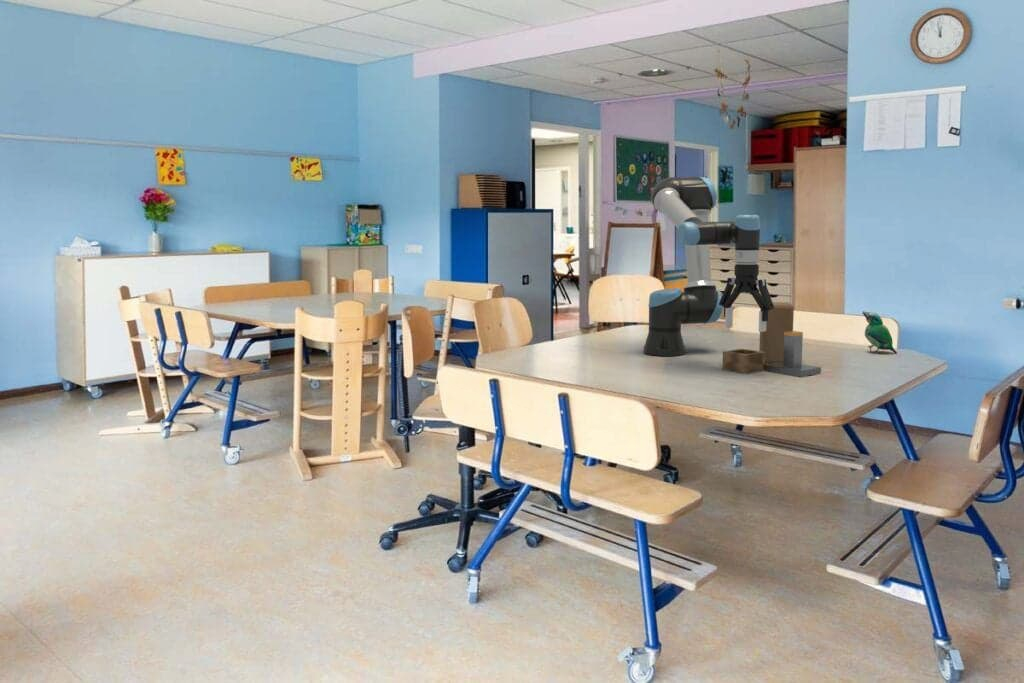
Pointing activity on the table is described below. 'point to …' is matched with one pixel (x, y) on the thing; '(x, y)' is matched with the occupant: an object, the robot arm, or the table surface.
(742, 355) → the wooden cube shelf
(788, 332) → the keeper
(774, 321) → the block
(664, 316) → the robot arm
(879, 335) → the toy
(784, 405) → the table surface
